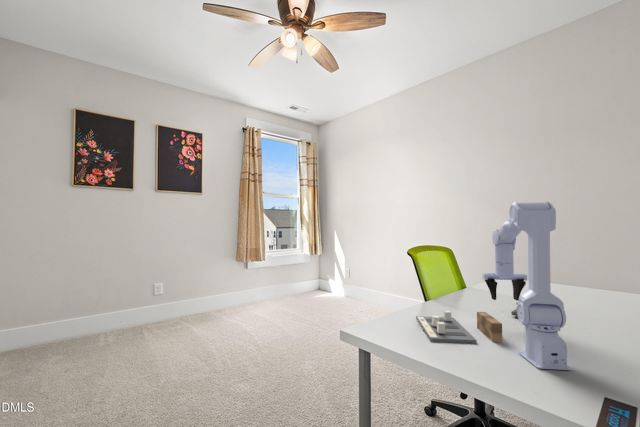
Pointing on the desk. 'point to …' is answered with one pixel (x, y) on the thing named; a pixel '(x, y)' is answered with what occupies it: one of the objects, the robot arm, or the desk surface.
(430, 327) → the switch board
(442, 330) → the beige small block
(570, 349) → the desk surface
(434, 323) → the tab
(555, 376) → the desk surface
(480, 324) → the pusher bar
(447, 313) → the tab
